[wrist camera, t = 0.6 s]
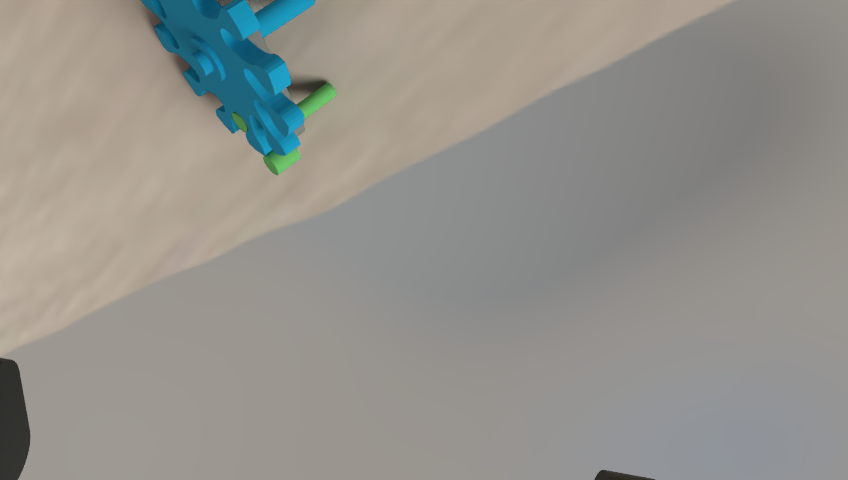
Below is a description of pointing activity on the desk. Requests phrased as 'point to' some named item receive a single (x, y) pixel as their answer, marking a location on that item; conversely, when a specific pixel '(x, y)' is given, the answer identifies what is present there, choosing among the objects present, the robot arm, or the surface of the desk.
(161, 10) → the gear
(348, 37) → the desk surface
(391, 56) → the desk surface
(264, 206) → the desk surface
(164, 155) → the desk surface
